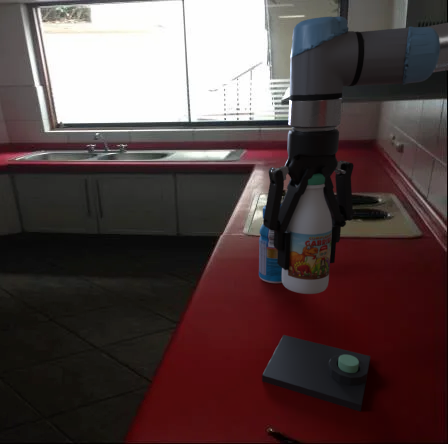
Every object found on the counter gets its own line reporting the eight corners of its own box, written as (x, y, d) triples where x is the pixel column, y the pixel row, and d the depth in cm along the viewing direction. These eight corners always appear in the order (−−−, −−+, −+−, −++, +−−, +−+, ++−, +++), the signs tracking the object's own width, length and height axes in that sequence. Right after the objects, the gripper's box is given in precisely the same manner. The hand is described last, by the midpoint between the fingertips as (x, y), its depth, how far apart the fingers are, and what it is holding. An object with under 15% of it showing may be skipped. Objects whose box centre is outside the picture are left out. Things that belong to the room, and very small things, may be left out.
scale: (370, 362, 77) (371, 348, 76) (361, 412, 66) (362, 396, 65) (283, 340, 85) (283, 327, 85) (261, 381, 74) (262, 367, 73)
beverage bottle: (251, 276, 114) (252, 206, 108) (273, 268, 119) (275, 200, 113) (274, 287, 108) (277, 213, 101) (297, 278, 112) (300, 207, 106)
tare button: (359, 364, 73) (360, 357, 72) (356, 375, 70) (357, 367, 70) (339, 359, 75) (340, 352, 74) (336, 370, 72) (337, 362, 71)
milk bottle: (272, 285, 74) (276, 173, 68) (297, 271, 78) (302, 166, 72) (312, 300, 68) (319, 179, 62) (336, 284, 72) (346, 171, 66)
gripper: (356, 122, 70) (345, 248, 77) (241, 131, 66) (240, 263, 73) (388, 125, 63) (373, 263, 70) (262, 135, 59) (259, 280, 66)
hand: (305, 263), depth 72 cm, fingers closed on milk bottle, 8 cm apart
